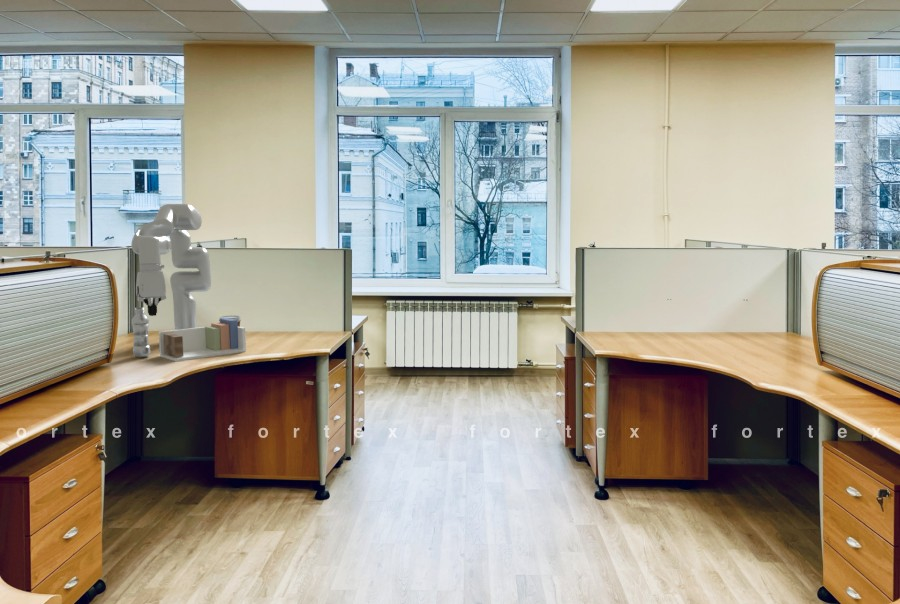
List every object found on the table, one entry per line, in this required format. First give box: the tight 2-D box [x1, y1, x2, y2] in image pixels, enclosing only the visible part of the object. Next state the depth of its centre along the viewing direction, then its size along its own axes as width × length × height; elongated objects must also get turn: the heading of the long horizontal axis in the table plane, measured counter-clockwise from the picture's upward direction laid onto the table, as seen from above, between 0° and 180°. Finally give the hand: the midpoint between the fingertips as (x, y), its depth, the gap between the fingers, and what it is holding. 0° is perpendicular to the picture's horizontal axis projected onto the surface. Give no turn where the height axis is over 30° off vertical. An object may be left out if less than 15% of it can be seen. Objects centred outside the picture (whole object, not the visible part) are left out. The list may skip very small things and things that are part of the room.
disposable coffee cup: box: [218, 315, 242, 327], centre depth 317 cm, size 10×10×12 cm
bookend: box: [164, 333, 183, 357], centre depth 283 cm, size 11×3×8 cm, turn 44°
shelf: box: [158, 318, 247, 362], centre depth 292 cm, size 15×30×13 cm, turn 134°
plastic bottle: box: [131, 307, 151, 358], centre depth 285 cm, size 6×7×20 cm
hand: (152, 315), depth 276 cm, fingers closed
